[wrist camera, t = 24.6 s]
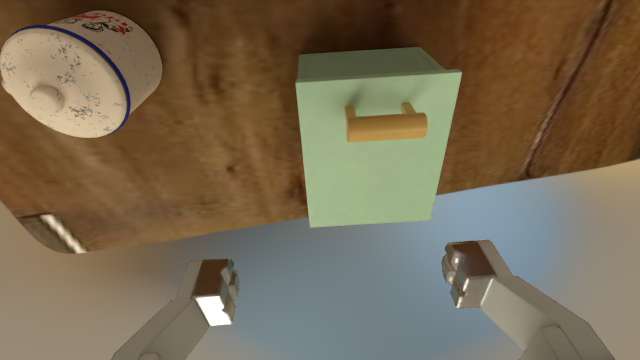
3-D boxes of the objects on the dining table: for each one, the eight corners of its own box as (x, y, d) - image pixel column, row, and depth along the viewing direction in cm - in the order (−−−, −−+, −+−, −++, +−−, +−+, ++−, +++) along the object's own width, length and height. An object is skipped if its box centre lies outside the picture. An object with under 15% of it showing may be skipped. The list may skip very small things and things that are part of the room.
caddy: (299, 54, 33) (296, 89, 25) (420, 46, 33) (456, 78, 25) (309, 169, 41) (309, 221, 34) (404, 163, 41) (427, 214, 33)
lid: (295, 79, 24) (293, 105, 20) (458, 68, 24) (488, 93, 20) (309, 222, 33) (310, 259, 29) (427, 215, 33) (444, 251, 29)
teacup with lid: (143, 1, 29) (66, 27, 20) (179, 94, 35) (132, 149, 25) (19, 16, 30) (-113, 49, 20) (74, 106, 35) (-10, 165, 26)
